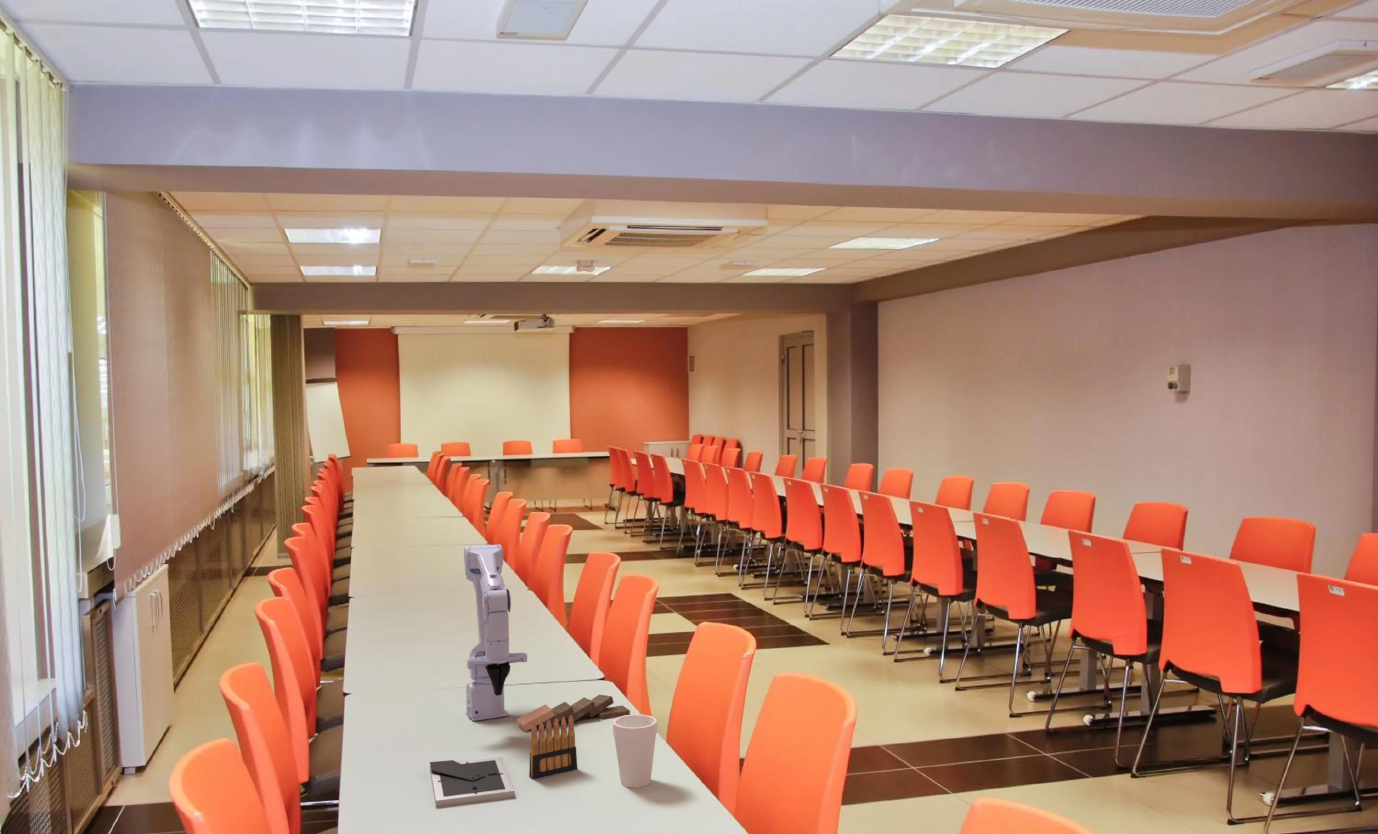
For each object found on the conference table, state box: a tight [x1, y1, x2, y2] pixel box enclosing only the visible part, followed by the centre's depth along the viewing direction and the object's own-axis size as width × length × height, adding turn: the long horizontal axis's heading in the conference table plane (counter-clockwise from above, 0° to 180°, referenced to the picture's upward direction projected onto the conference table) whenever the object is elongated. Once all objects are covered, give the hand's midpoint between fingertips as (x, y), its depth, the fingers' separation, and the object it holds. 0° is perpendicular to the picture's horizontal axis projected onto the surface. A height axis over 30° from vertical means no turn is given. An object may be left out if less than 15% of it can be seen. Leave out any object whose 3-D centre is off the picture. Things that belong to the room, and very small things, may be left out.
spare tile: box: [516, 703, 554, 732], centre depth 256 cm, size 2×5×8 cm
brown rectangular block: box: [543, 701, 574, 729], centre depth 258 cm, size 2×5×8 cm
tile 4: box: [582, 694, 615, 718], centre depth 266 cm, size 2×5×8 cm
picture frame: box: [429, 756, 516, 808], centre depth 219 cm, size 16×3×21 cm
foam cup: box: [612, 713, 658, 789], centre depth 219 cm, size 10×9×13 cm
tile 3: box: [565, 697, 596, 724], centre depth 261 cm, size 2×5×8 cm
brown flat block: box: [595, 704, 631, 720], centre depth 265 cm, size 2×5×8 cm
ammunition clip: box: [528, 715, 578, 780], centre depth 224 cm, size 11×2×12 cm, turn 123°
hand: (497, 694), depth 252 cm, fingers closed
